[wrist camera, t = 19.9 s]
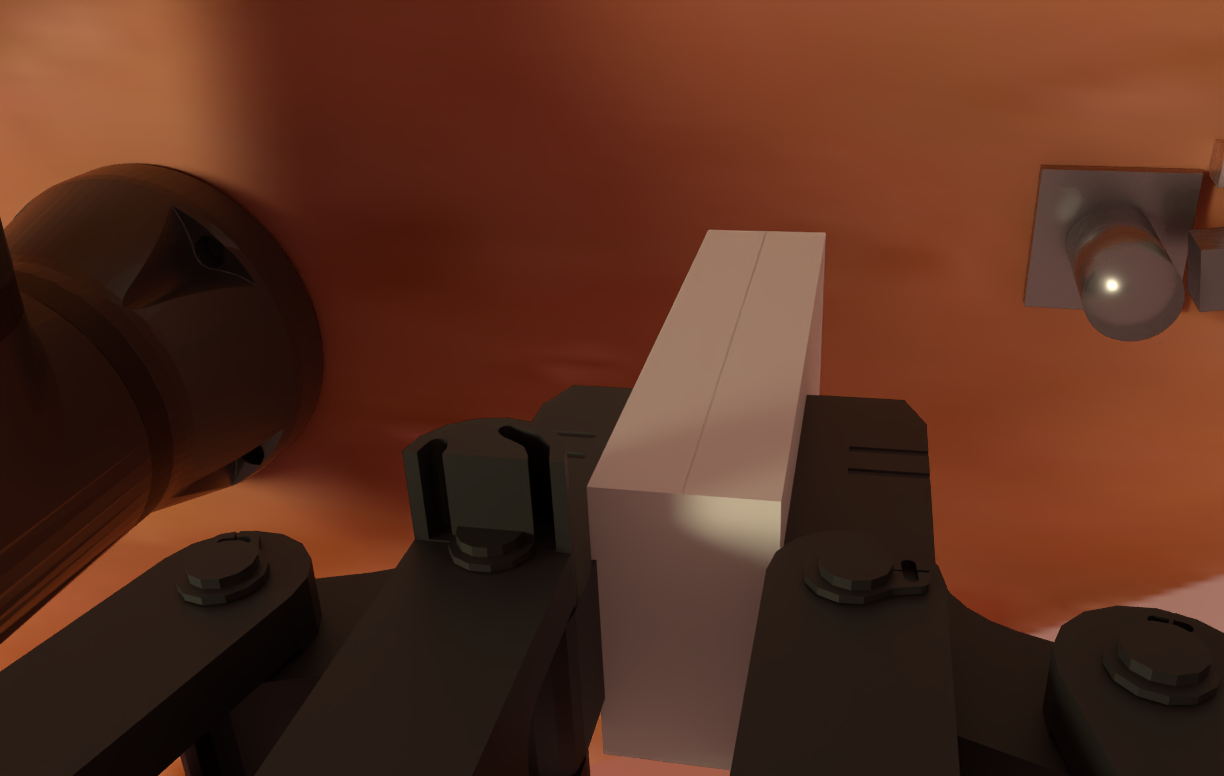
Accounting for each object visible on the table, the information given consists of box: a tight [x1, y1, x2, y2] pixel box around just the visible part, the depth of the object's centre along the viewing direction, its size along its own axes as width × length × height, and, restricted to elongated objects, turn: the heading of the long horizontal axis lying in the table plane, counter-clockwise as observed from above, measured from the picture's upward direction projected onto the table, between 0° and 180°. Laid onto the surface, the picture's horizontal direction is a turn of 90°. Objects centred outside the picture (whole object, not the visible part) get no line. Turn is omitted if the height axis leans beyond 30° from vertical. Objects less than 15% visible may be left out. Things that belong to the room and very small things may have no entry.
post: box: [1023, 165, 1203, 341], centre depth 36 cm, size 5×5×6 cm
